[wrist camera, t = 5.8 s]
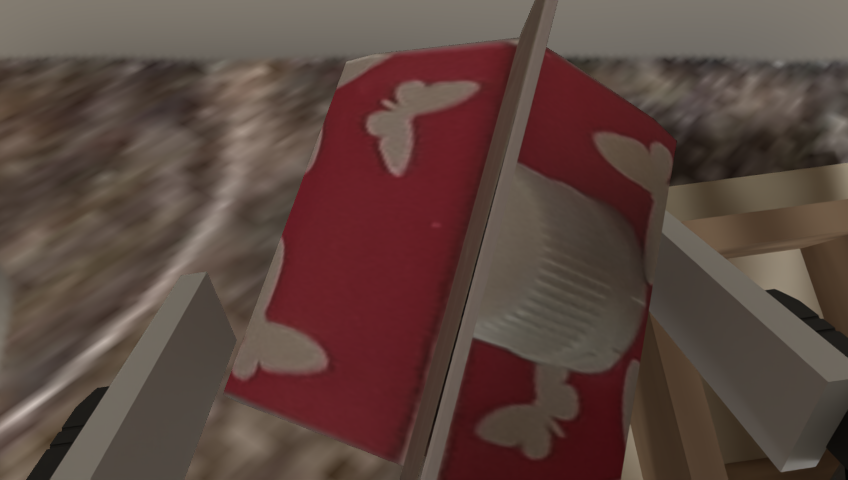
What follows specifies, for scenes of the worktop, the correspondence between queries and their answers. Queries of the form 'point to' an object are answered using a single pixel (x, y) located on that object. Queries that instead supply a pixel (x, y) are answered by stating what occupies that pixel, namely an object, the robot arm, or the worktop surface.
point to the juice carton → (467, 266)
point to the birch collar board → (770, 269)
